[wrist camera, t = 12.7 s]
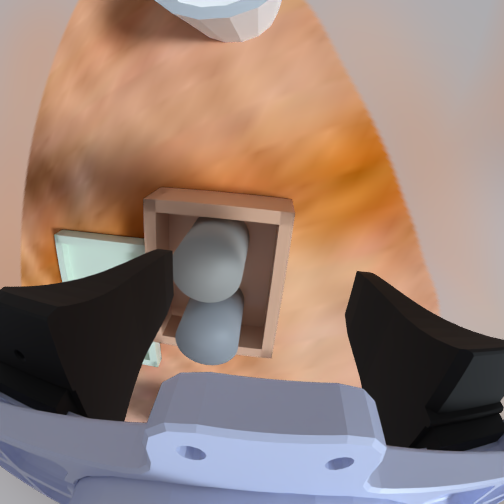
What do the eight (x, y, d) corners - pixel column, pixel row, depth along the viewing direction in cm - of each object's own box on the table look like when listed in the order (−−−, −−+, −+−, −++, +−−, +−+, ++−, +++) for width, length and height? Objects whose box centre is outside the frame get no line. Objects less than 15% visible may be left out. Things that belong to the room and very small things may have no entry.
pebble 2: (235, 326, 24) (227, 371, 20) (187, 311, 24) (170, 353, 20) (251, 286, 23) (246, 329, 18) (198, 269, 22) (182, 309, 18)
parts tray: (161, 358, 27) (157, 367, 26) (84, 340, 27) (79, 348, 26) (152, 239, 22) (146, 245, 21) (62, 229, 23) (54, 234, 21)
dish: (272, 332, 25) (271, 358, 22) (164, 317, 25) (153, 341, 22) (292, 199, 20) (294, 213, 18) (160, 187, 21) (143, 198, 18)
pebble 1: (244, 268, 22) (236, 308, 18) (189, 257, 22) (168, 294, 18) (254, 215, 21) (248, 245, 16) (195, 204, 20) (173, 231, 16)
